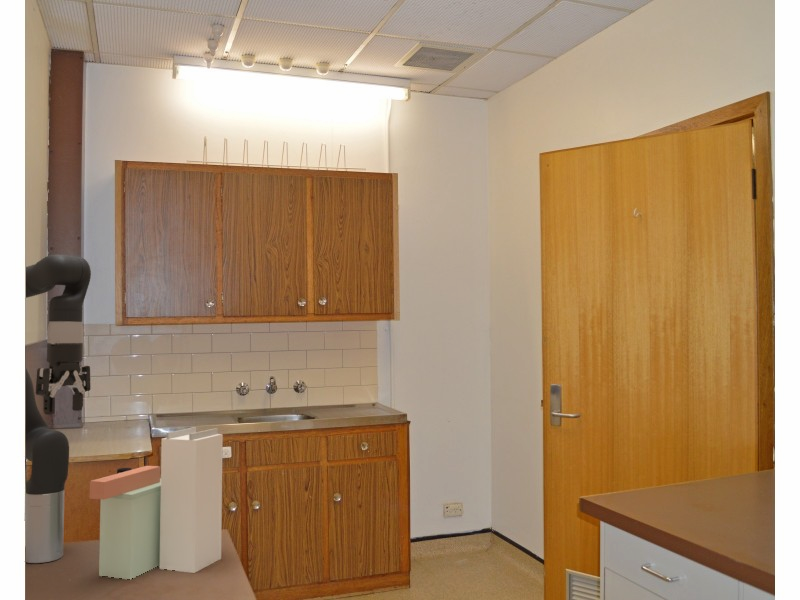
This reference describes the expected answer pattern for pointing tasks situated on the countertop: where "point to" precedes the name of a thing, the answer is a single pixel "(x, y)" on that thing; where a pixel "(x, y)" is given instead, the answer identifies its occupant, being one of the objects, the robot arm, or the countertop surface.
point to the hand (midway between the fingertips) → (63, 412)
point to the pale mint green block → (130, 533)
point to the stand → (191, 499)
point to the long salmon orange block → (124, 482)
